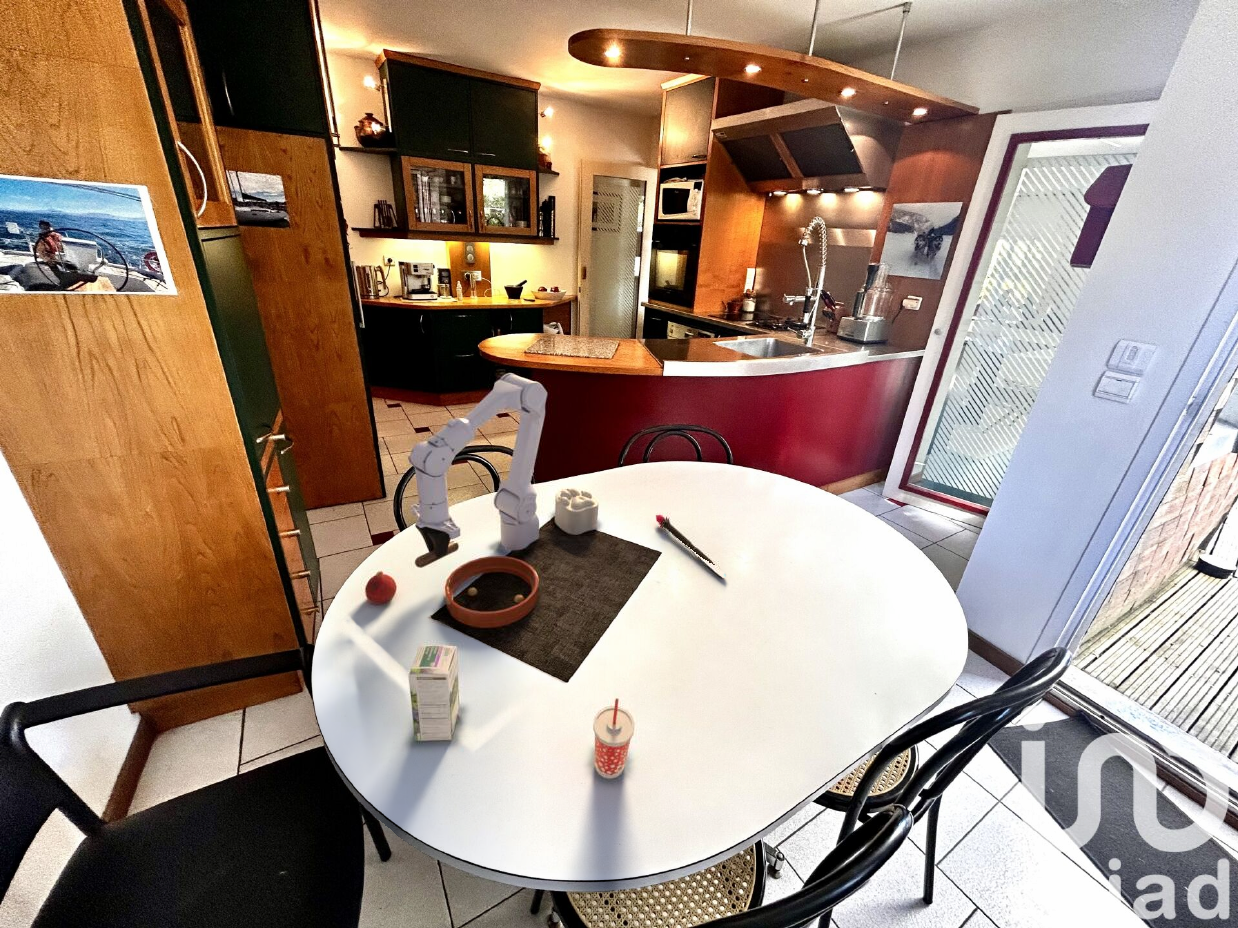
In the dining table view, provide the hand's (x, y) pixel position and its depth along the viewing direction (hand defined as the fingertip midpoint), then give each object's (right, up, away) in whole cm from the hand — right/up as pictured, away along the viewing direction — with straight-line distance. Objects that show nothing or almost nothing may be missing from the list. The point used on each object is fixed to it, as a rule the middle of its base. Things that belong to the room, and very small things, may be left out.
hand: (437, 552), depth 107 cm
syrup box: (+10, -23, -28) cm, 37 cm away
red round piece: (-10, -10, -3) cm, 15 cm away
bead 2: (+18, -10, -1) cm, 21 cm away
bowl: (+12, -10, 0) cm, 16 cm away
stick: (0, -1, 0) cm, 1 cm away
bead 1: (+8, -9, 0) cm, 11 cm away
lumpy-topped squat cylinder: (+27, +3, +33) cm, 42 cm away
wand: (+58, -3, +25) cm, 63 cm away
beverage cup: (+38, -27, -31) cm, 56 cm away
